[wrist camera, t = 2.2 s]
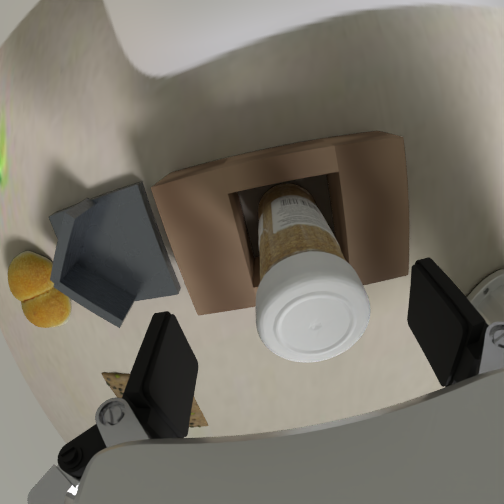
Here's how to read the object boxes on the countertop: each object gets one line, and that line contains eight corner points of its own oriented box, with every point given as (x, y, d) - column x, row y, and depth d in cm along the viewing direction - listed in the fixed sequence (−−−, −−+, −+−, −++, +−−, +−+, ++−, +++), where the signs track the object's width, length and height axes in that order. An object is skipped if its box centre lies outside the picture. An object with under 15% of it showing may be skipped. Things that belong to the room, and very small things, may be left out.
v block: (140, 177, 22) (116, 193, 18) (181, 290, 26) (169, 322, 22) (53, 210, 23) (24, 228, 19) (96, 304, 28) (77, 331, 24)
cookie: (210, 424, 37) (210, 429, 37) (136, 419, 39) (135, 424, 38) (185, 372, 32) (184, 378, 31) (101, 369, 33) (98, 375, 32)
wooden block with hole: (377, 130, 20) (403, 136, 16) (387, 248, 24) (408, 274, 20) (170, 172, 22) (150, 187, 18) (206, 283, 26) (197, 315, 22)
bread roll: (47, 239, 25) (24, 257, 21) (85, 311, 29) (69, 335, 25) (6, 257, 26) (-14, 274, 22) (41, 319, 30) (26, 339, 26)
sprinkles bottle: (247, 221, 23) (234, 345, 11) (276, 170, 22) (296, 253, 10) (298, 246, 24) (328, 377, 12) (327, 199, 22) (395, 304, 10)
